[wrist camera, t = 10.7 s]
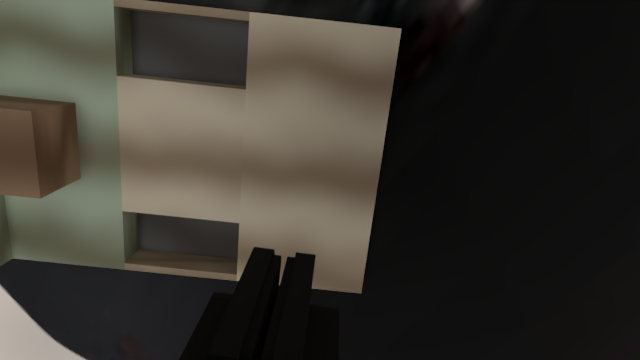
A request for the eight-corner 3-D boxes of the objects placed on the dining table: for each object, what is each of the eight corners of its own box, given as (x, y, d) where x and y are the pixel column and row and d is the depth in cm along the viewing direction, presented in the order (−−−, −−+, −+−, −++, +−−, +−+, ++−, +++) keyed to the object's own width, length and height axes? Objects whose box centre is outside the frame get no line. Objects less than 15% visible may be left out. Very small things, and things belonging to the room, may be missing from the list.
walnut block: (-5, 94, 26) (-63, 101, 22) (75, 102, 26) (31, 111, 22) (5, 170, 27) (-48, 189, 23) (80, 178, 27) (40, 198, 23)
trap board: (-8, -14, 26) (-75, -27, 22) (394, 30, 26) (407, 26, 22) (23, 241, 31) (-25, 271, 27) (358, 275, 32) (363, 309, 27)
